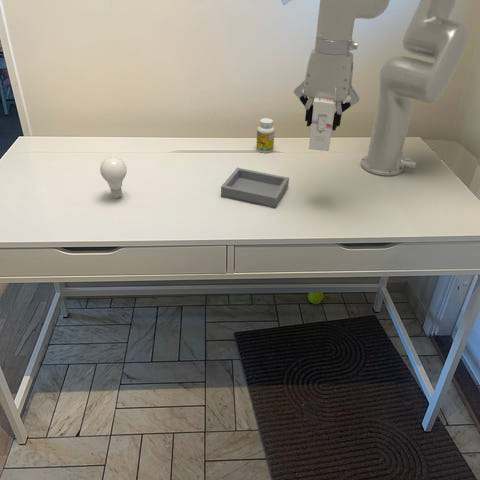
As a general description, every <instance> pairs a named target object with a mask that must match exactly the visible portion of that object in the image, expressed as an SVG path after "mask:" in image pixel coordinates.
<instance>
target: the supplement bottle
mask: <svg viewBox="0 0 480 480" xmlns="http://www.w3.org/2000/svg"><path fill="white" fill-rule="evenodd" d="M273 123H274V120H273V119H272V118H268V117H267V118H266V117H263V118H261V119H260V120H259V125H258V127H257V129H256V151H257V152H259V153H264V154H268V153H271V152H273V151H274V147H275V146H274V142H275V131H276V130H275V127H274V126H273V125H274V124H273Z"/></svg>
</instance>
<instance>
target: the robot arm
mask: <svg viewBox="0 0 480 480" xmlns="http://www.w3.org/2000/svg"><path fill="white" fill-rule="evenodd" d="M390 1H391V0H319V6H318V7H319V8H318V17H317V26H316V35H315V43H314V49H311V52H310V55H309V59H308V62H307V66H306V67H307V68H306V72H305V78H304V80H303V81H302V82H301V83H300V84H299V85H298V86H296V88H295V89H294V90H293V94H294V95H295V96H296V97H297V98H298V99H299V101H300V102H301V104H302V105H303V106H304V109H305V117H304V121H305V122H306V127H310V126H311V125H312V115H313V105H314V98H324V99H330V100H334V101H335V88H336V104H335V113H334V119H333V126H332V131H336V130H337V128H338V127H340V125H341V120H342V114H343V112H345V111H347V110H348V109H349V108H351V107H352V106H354V105H355V104H357V103H358V102H359V101H360V96H359V95H358V93H357V91H356V90H355V89H354V86H353V85H352V82H353V75H354V74H353V73H354V53H353V52H351V51H354V50H356V51H357V50H358V47H359V46H358V45H359V43H358V42H355V41H354V40H353V31H354V26H355V20H356V19H365V20H367V19H368V20H370V19H371V20H373V19H375V18H377V17H380V16H381V15H382V14H384V12H385V11H386V10H387V8H388V6H389V3H390ZM456 1H457V0H420V1H419V3H418V5H417V7H416V9H415V11H414V14H413V15H412V18H411V20H410V22H409V24H408V25H407V28H406V31H405V33H404V36H403V39H402V47H403V49H404V50H405V51H406V52H407V53H410V54H413V55H417V56H420V57H425V58H429V59H433V60H434V62H429V61H425V60H421V59H418V58H413V57H410V56H407V55H405V56H404V55H394V56H392V57H389V58H388V59H387V60H386V61H385V62H384V63H383V65H382V67H381V69H380V72H379V92H378V93H379V94H378V102H377V107H376V111H375V116H374V120H373V126H372V131H371V135H370V140H369V145H368V151H367V155H365V156H363V157H361V159H360V163H359V164H360V166H361V167H362V169H364V170H365V171H367V172H369V173H371V174H373V175H379V176H383V177H385V176H387V177H390V176H397V175H400V174H401V173H403V171H404V168H405V167H406V168H410V169H413V170H414V169H416V165H417V161H412V160H413V158H409V157H405V156H403V155H404V151H403V150H404V146H405V142H406V138H407V135H408V129H409V125H410V123H411V118H412V113H413V106H412V102H411V101H412V100H415V101H419V102H422V103H427V104H433V103H435V102H437V101H438V100H440V98H442V96H443V94H444V93H445V90H446V89H447V87H448V85H449V83H450V81H451V79H452V78H453V75H454V74H455V71H456V70H457V67H458V66H459V64H460V62H461V60H462V57H463V55H464V53H465V51H466V49H467V46H468V43H469V37H470V35H469V34H470V32H469V28H468V26H467V25H466V24H465V23H463V22H460V21H457V20H451V19H450V17H451V14H452V12H453V9H454V8H455V6H456ZM348 96H349V98H350V99H349V100H347V99H348ZM411 99H412V100H411ZM346 100H347V101H346Z"/></svg>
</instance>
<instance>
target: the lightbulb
mask: <svg viewBox="0 0 480 480" xmlns="http://www.w3.org/2000/svg"><path fill="white" fill-rule="evenodd" d="M99 171H100V175H101V177H102V178H103V179H104V180H105V181H106V183H107V185H108V186H109V187H108V188H110V195H111V197H112V198H114V199H118V198H121V197H122V196H123V192H122V186H123V181H124V179H125V178H126V175H127V172H128V169H127V165H126V164H125V162H124V161H123V160H122V159H120V158H119V157H116V156H110V157H107V158H105V159H104V160H103V161H102V162H101V163H100V167H99Z"/></svg>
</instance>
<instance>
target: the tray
mask: <svg viewBox="0 0 480 480" xmlns="http://www.w3.org/2000/svg"><path fill="white" fill-rule="evenodd" d="M289 182H290V177H287V176H282V175H276V174H271V173H266V172H261V171H257V170H250V169H245V168H242V167H237V168H235V169H234V171H233V172H232V173H231V174H230V175H229V177H228V178H227V179H226V180H225V182H224V183H223V184H222V185H221V186H220V197H221V198H224V199H229V200H234V201H239V202H243V203H249V204H252V205H258V206H262V207H267V208H269V209H270V208H271V209H277V207H278V205H279V204H280V202H281V201H282V199H283V197H284V195H285V194H286V192H287V190H288V189H289Z"/></svg>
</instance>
